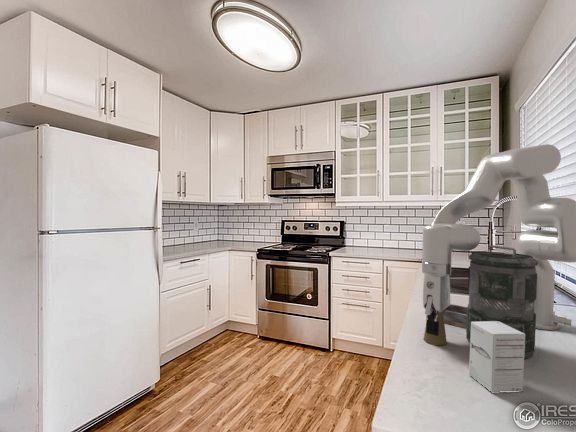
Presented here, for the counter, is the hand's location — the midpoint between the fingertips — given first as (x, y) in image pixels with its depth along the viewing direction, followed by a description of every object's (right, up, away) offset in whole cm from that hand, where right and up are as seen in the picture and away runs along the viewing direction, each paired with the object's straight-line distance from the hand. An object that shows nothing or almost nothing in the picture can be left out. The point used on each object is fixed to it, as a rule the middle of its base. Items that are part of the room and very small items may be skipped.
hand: (434, 331), depth 91 cm
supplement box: (+3, -4, -22) cm, 22 cm away
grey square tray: (+15, -3, +17) cm, 23 cm away
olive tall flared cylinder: (0, -3, 0) cm, 3 cm away
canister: (+16, -4, -3) cm, 17 cm away
